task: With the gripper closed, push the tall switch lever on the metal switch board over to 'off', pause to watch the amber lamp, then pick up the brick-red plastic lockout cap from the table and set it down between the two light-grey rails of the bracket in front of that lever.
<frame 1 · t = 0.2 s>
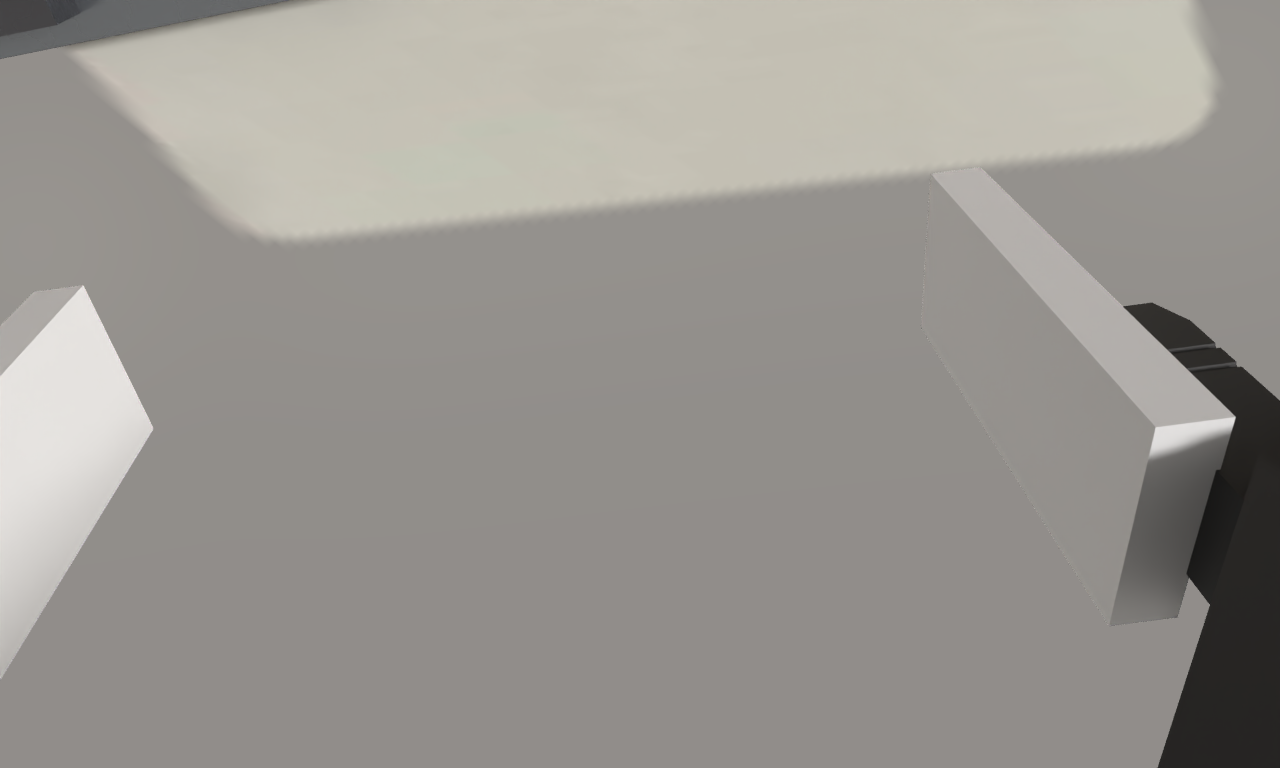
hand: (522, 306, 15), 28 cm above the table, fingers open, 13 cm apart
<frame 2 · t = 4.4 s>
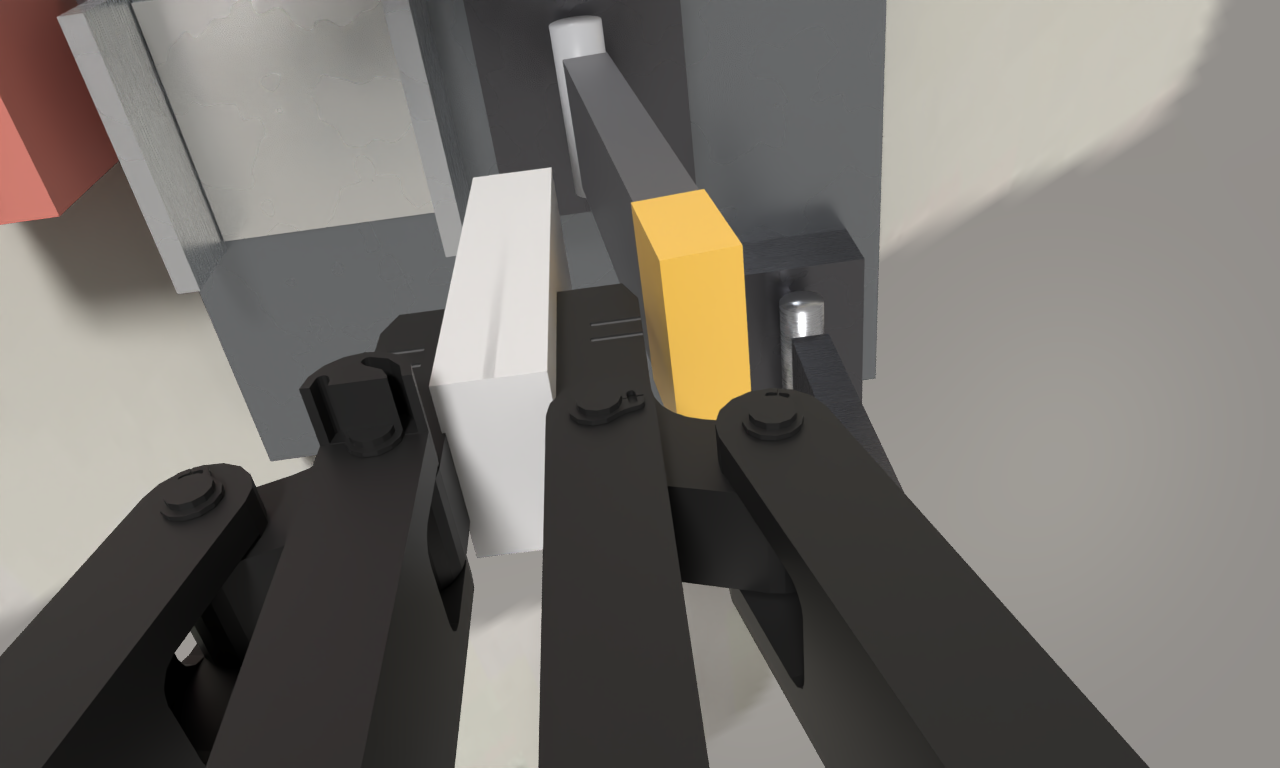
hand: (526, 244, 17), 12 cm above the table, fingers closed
metal switch board: (528, 149, 28), on the table
lockout cap: (21, 53, 26), on the table
switch lever: (629, 193, 18), point 10 cm above the table, hinge at 6.8°, touching gripper
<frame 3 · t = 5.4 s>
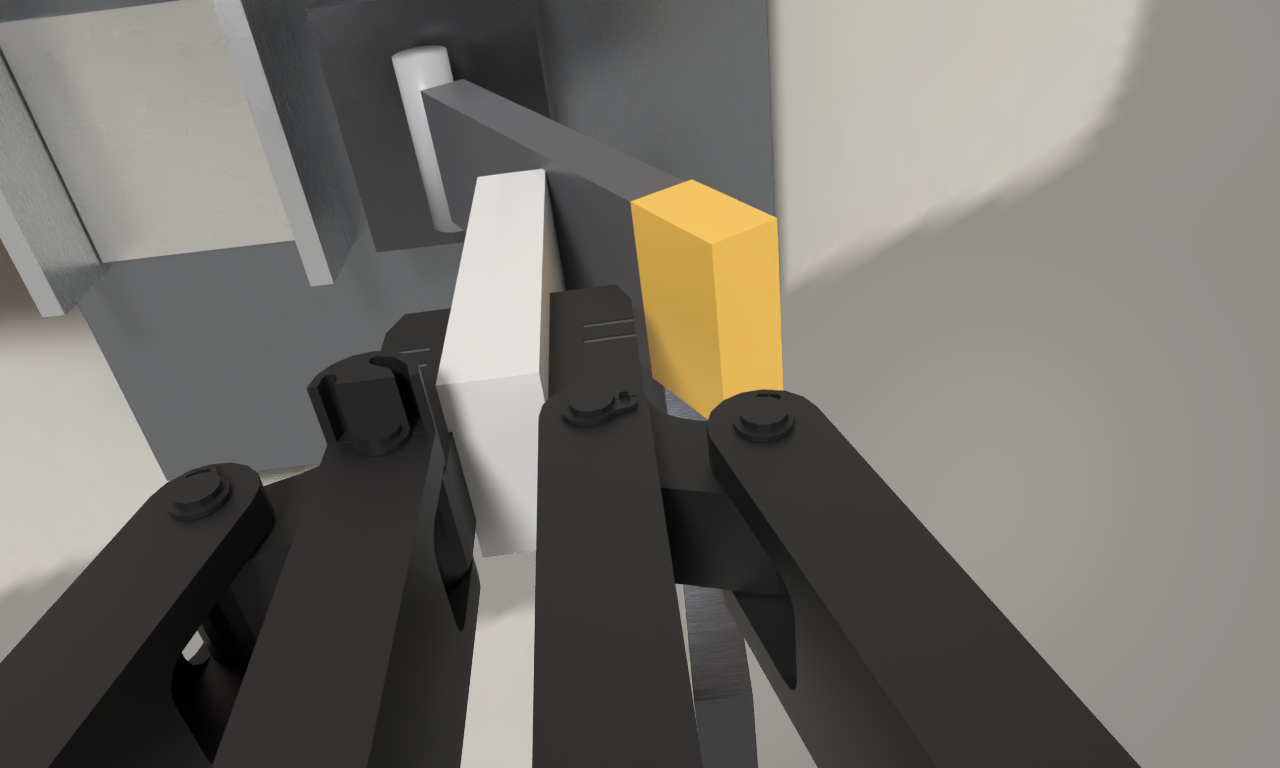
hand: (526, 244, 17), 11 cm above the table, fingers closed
metal switch board: (416, 174, 28), on the table
switch lever: (550, 209, 18), point 10 cm above the table, hinge at 31.0°, touching gripper
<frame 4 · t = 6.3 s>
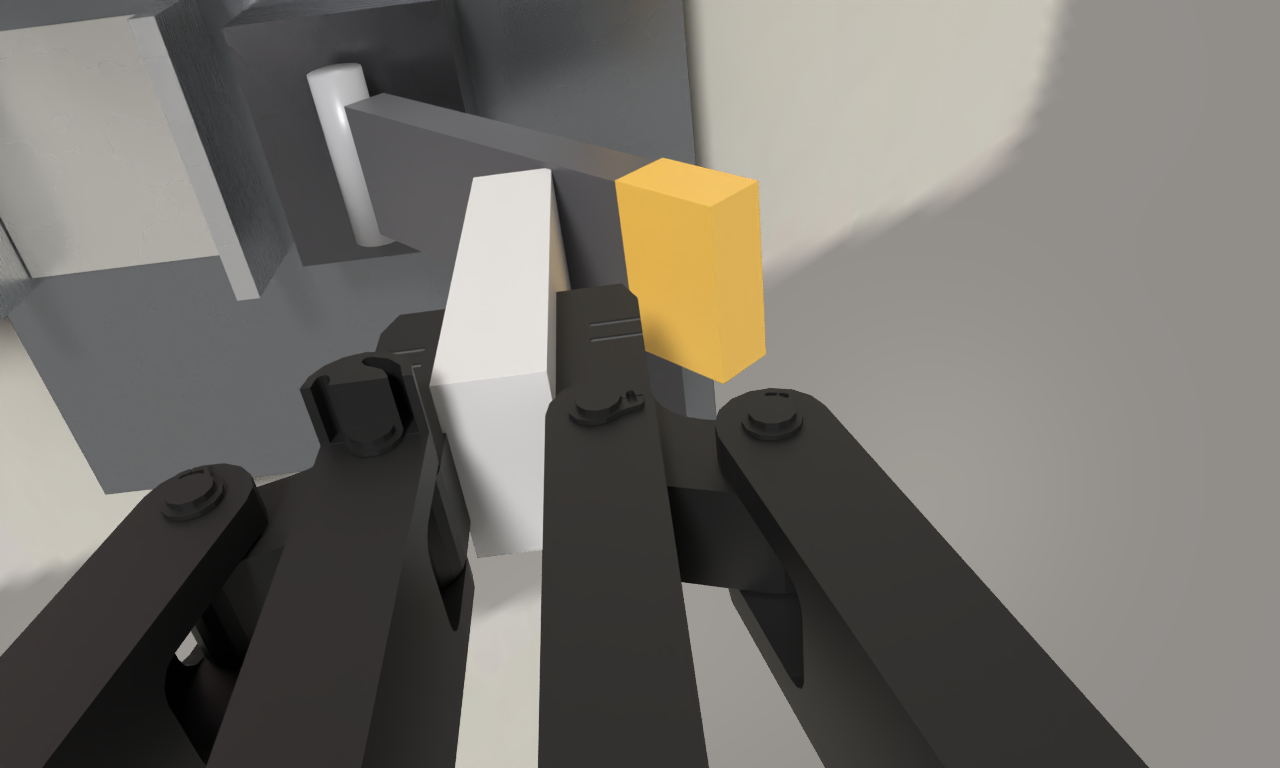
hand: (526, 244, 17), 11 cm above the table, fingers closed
metal switch board: (348, 187, 28), on the table
switch lever: (502, 206, 19), point 9 cm above the table, hinge at 42.5°, touching gripper
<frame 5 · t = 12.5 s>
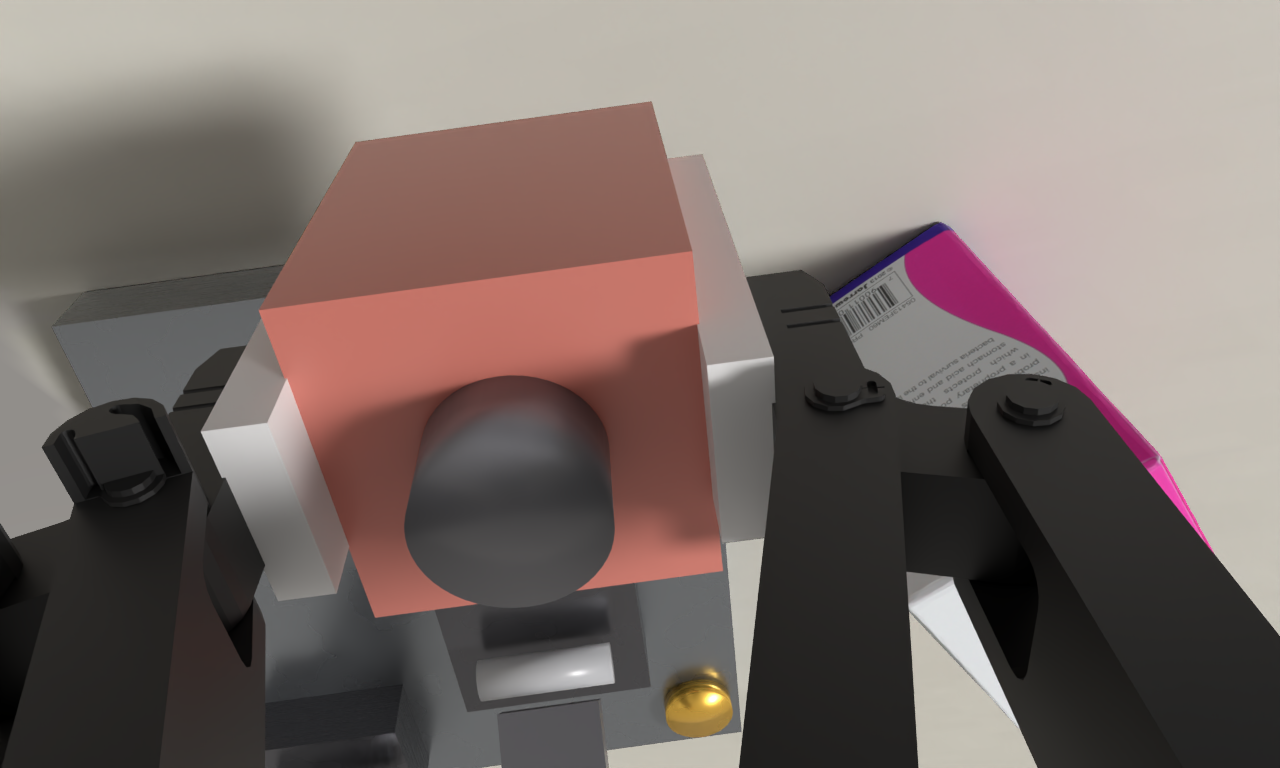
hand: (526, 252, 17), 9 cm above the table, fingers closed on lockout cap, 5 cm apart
metal switch board: (463, 524, 32), on the table
lockout cap: (530, 257, 17), point 9 cm above the table, touching gripper
supplement box: (904, 336, 30), on the table
when the fingers open (3 cm above the table, at t = 15.9 s): lockout cap stays where it is, resting on metal switch board.
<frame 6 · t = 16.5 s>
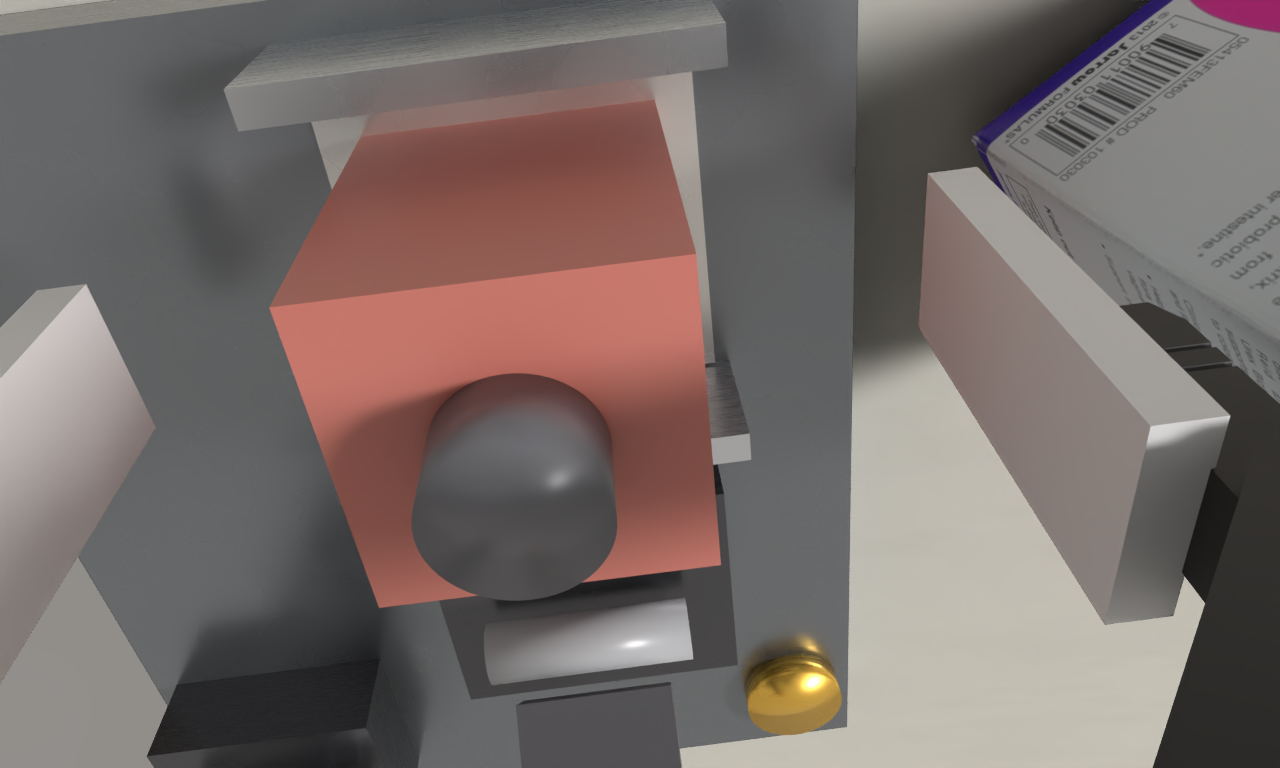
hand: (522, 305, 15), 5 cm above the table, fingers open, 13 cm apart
metal switch board: (465, 429, 22), on the table
lockout cap: (532, 252, 17), point 2 cm above the table, touching metal switch board
supplement box: (1141, 149, 19), on the table, touching gripper
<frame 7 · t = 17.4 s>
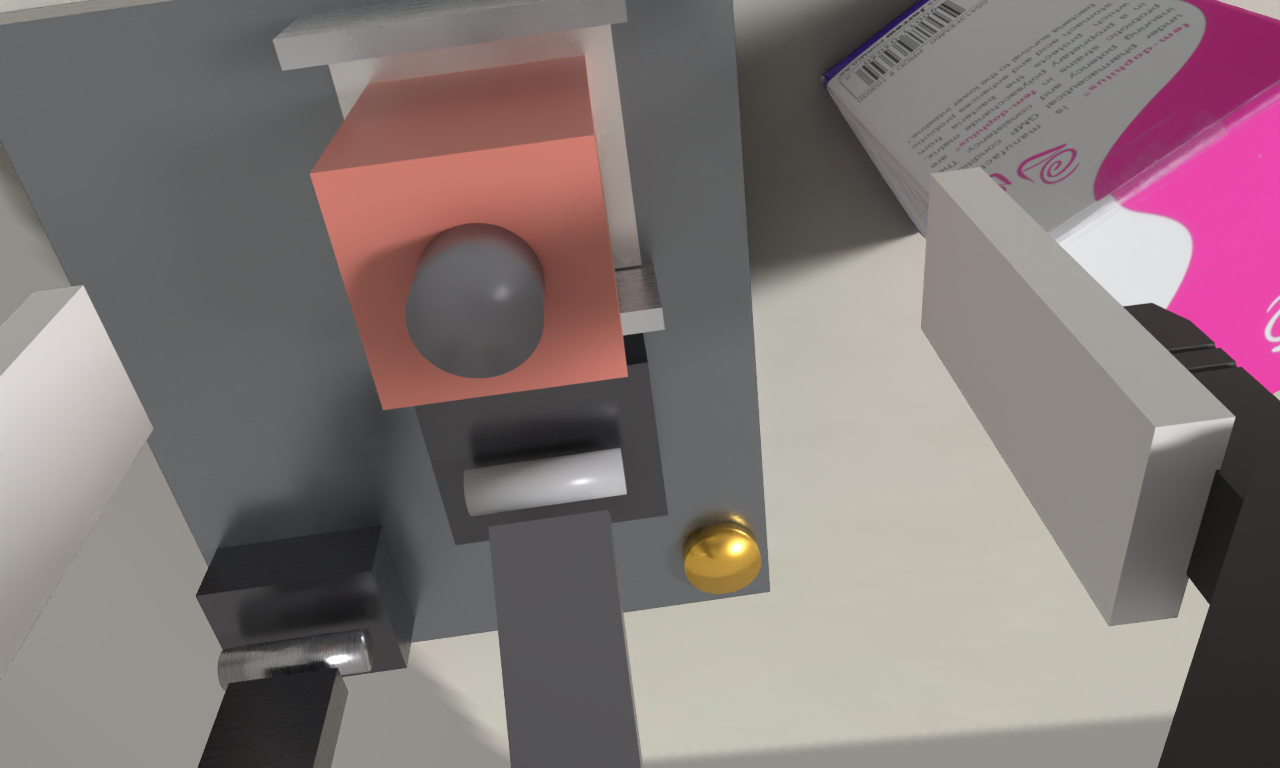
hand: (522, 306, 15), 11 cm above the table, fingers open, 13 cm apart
metal switch board: (450, 334, 28), on the table
lockout cap: (497, 174, 23), point 2 cm above the table, touching metal switch board
switch lever: (571, 703, 23), point 9 cm above the table, hinge at 42.9°
supplement box: (963, 93, 25), on the table
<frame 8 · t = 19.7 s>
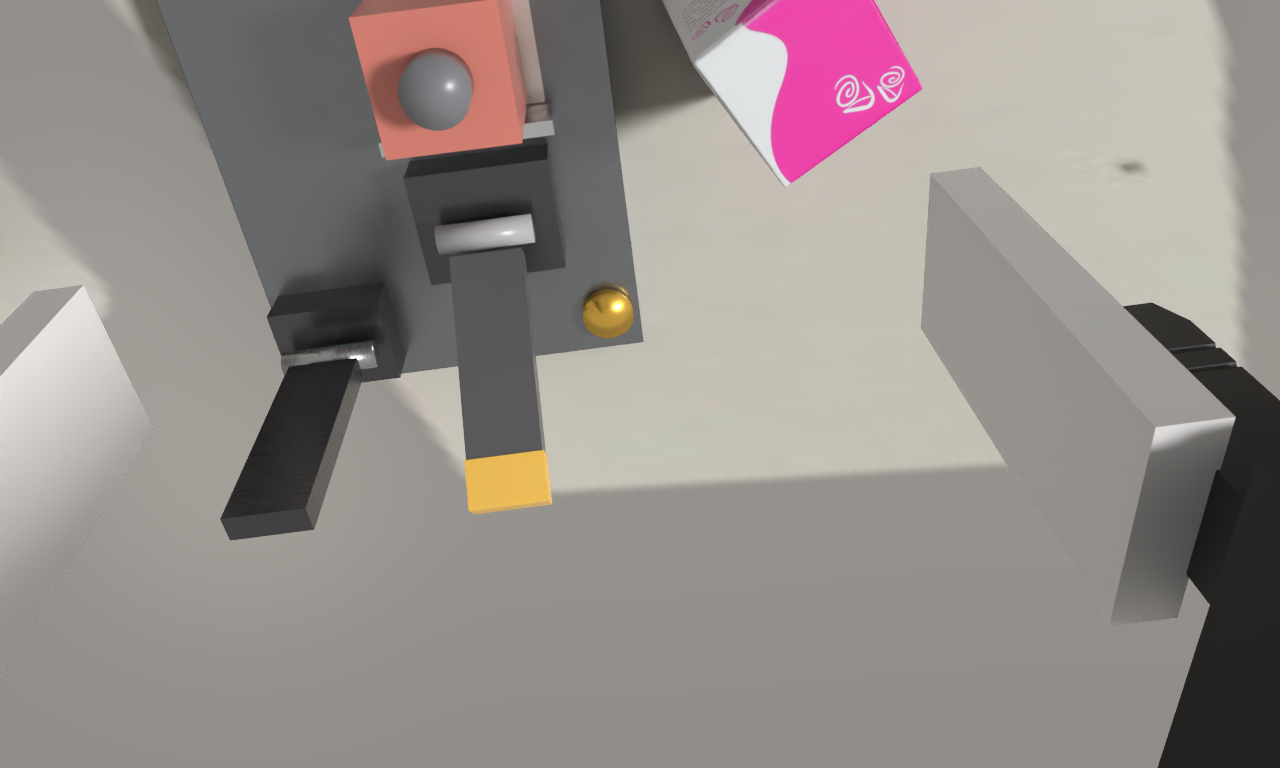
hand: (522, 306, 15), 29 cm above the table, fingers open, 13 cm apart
metal switch board: (429, 154, 43), on the table
lockout cap: (455, 40, 38), point 2 cm above the table, touching metal switch board
switch lever: (497, 359, 39), point 9 cm above the table, hinge at 42.9°
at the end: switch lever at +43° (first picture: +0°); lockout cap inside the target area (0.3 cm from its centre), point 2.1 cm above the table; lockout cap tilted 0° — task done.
